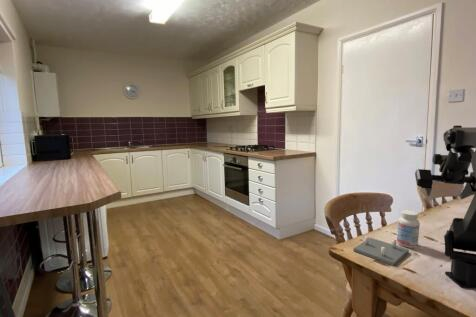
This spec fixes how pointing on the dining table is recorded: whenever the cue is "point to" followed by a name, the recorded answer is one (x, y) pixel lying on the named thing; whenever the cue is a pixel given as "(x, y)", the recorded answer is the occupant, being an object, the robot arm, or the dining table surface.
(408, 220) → the pill bottle
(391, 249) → the pin tray
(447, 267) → the dining table surface
